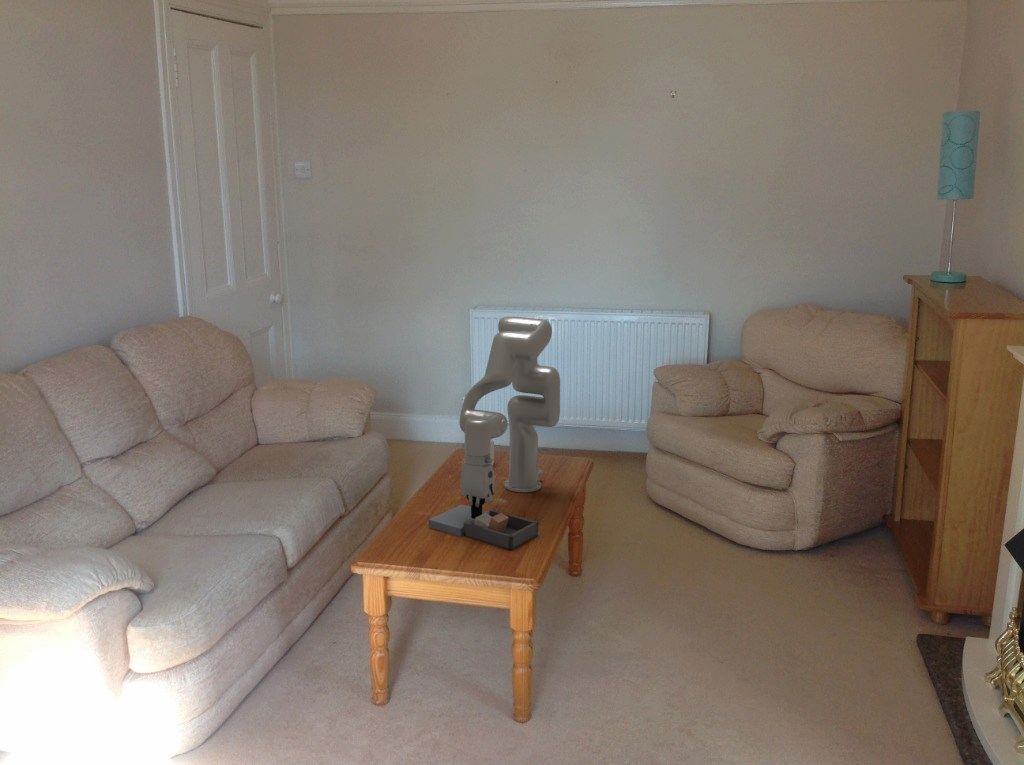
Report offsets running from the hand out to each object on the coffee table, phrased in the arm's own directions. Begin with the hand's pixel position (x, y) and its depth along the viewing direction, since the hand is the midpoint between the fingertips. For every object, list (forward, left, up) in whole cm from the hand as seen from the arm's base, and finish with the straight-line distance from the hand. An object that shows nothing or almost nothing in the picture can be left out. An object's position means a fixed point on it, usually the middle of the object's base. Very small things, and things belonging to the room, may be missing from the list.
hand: (476, 517), depth 288 cm
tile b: (0, +6, 0) cm, 7 cm away
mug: (-52, -36, -4) cm, 63 cm away
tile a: (0, +3, -2) cm, 4 cm away
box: (0, +9, -4) cm, 10 cm away
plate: (0, -6, -4) cm, 7 cm away
